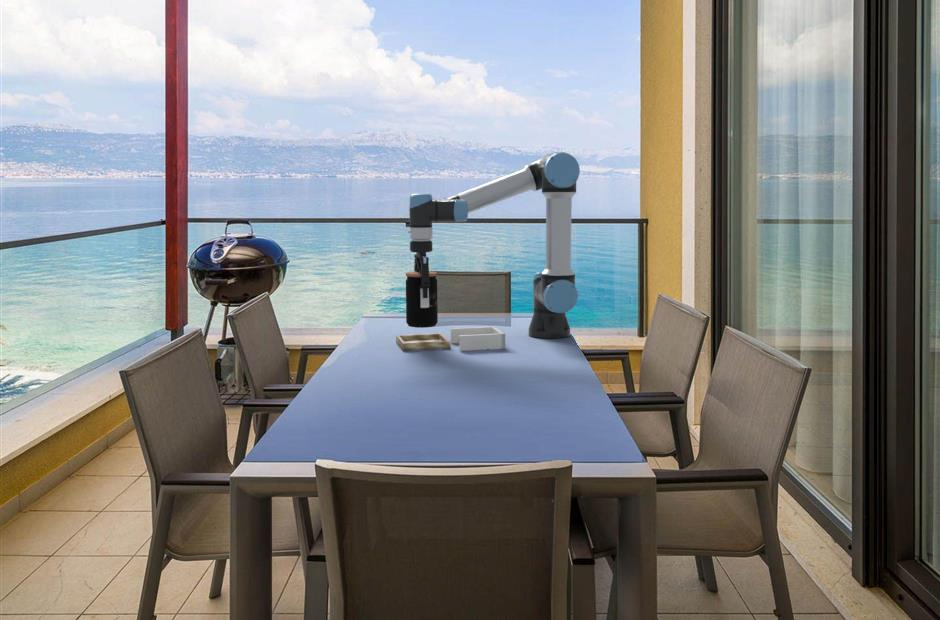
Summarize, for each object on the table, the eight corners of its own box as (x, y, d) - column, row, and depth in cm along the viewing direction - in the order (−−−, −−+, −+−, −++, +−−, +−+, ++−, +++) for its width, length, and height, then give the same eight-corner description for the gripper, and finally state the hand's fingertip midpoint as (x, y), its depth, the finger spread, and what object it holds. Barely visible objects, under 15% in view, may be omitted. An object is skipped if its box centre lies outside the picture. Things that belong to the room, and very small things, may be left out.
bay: (493, 340, 299) (493, 326, 298) (505, 348, 284) (505, 333, 283) (450, 342, 295) (450, 328, 294) (460, 350, 280) (460, 336, 280)
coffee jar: (433, 328, 283) (432, 274, 280) (402, 327, 285) (401, 274, 283) (440, 323, 293) (440, 271, 291) (411, 322, 296) (410, 270, 293)
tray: (441, 340, 300) (441, 333, 299) (450, 348, 284) (450, 341, 284) (396, 342, 296) (396, 335, 296) (403, 351, 281) (402, 343, 280)
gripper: (404, 238, 295) (405, 301, 299) (415, 242, 273) (416, 310, 276) (426, 237, 297) (426, 300, 300) (438, 242, 275) (439, 309, 278)
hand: (421, 305), depth 288 cm, fingers closed on coffee jar, 11 cm apart
